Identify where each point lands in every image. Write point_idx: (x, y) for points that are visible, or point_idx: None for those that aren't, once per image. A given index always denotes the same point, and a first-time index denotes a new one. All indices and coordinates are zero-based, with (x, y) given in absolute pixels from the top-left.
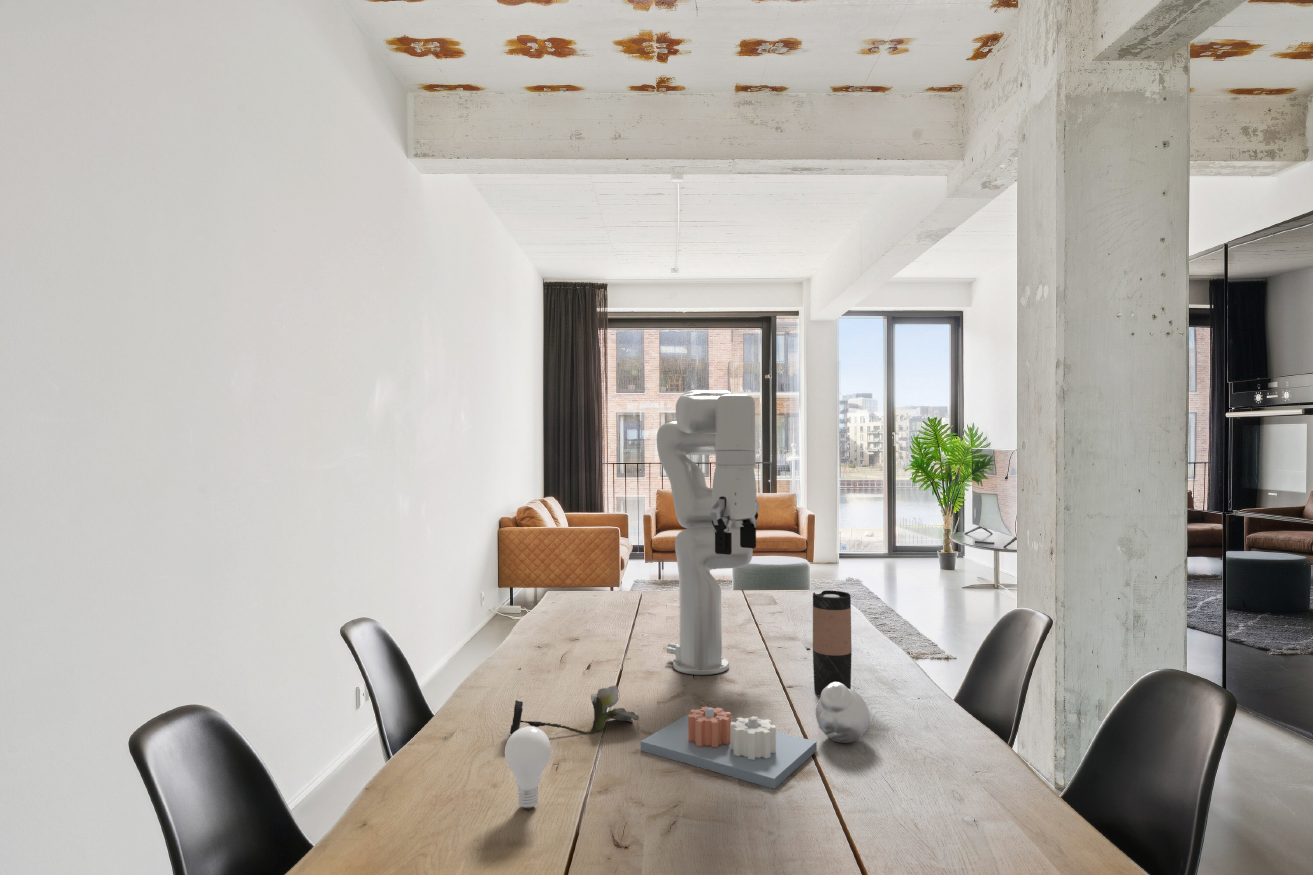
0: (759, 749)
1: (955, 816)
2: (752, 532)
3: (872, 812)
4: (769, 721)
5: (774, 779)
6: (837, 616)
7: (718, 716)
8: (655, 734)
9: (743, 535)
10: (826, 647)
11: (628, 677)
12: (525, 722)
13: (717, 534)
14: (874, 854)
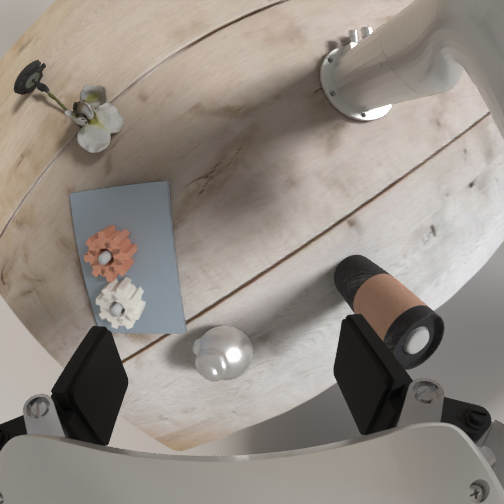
0: None
1: (162, 412)
2: (357, 417)
3: (128, 382)
4: (135, 318)
5: None
6: None
7: (107, 269)
8: (89, 193)
9: (362, 367)
10: (357, 309)
11: (258, 22)
12: (35, 83)
13: (52, 399)
14: None
